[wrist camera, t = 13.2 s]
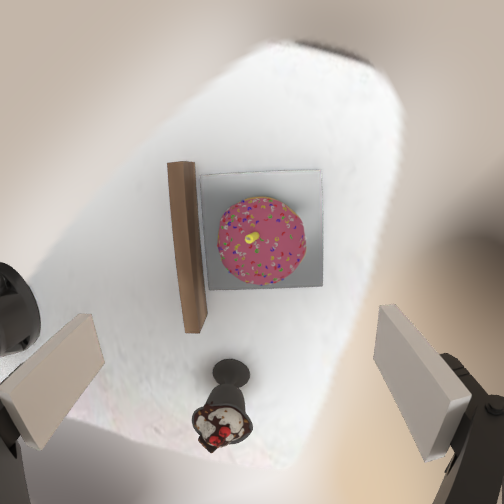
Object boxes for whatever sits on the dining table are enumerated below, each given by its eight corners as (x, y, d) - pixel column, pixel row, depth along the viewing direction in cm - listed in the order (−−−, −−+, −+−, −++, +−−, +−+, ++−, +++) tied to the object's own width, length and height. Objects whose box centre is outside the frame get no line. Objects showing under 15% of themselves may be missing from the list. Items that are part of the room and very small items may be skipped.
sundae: (244, 347, 39) (233, 430, 25) (263, 385, 41) (260, 470, 26) (198, 360, 40) (170, 441, 26) (219, 396, 42) (201, 478, 27)
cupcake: (209, 214, 34) (180, 237, 23) (280, 179, 33) (287, 183, 22) (245, 282, 36) (235, 334, 25) (314, 250, 35) (336, 289, 23)
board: (210, 287, 38) (209, 290, 37) (201, 175, 34) (199, 175, 33) (321, 283, 37) (322, 286, 36) (320, 169, 34) (321, 169, 33)
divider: (194, 313, 39) (185, 333, 34) (180, 163, 34) (167, 162, 29) (207, 314, 38) (199, 333, 34) (194, 162, 34) (182, 161, 29)
